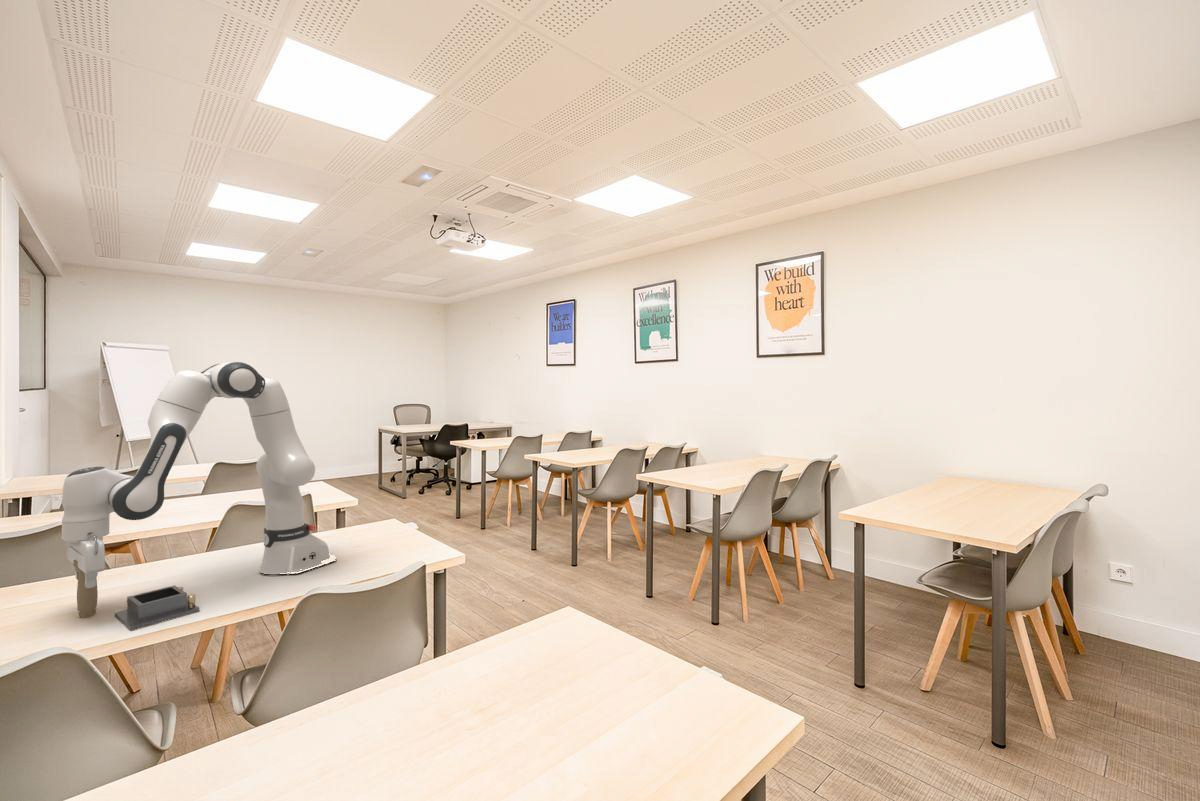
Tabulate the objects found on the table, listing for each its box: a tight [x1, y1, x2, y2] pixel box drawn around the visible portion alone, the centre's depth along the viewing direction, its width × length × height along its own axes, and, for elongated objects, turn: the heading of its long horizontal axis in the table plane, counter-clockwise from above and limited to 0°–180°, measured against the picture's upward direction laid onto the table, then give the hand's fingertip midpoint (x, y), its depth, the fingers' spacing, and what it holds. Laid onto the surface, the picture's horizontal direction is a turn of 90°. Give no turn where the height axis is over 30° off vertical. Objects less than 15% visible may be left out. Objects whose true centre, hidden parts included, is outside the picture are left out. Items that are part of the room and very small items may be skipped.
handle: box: [72, 560, 99, 619], centre depth 135 cm, size 5×6×15 cm
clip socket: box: [114, 585, 200, 632], centre depth 137 cm, size 14×14×5 cm
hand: (85, 583), depth 135 cm, fingers open, 8 cm apart
